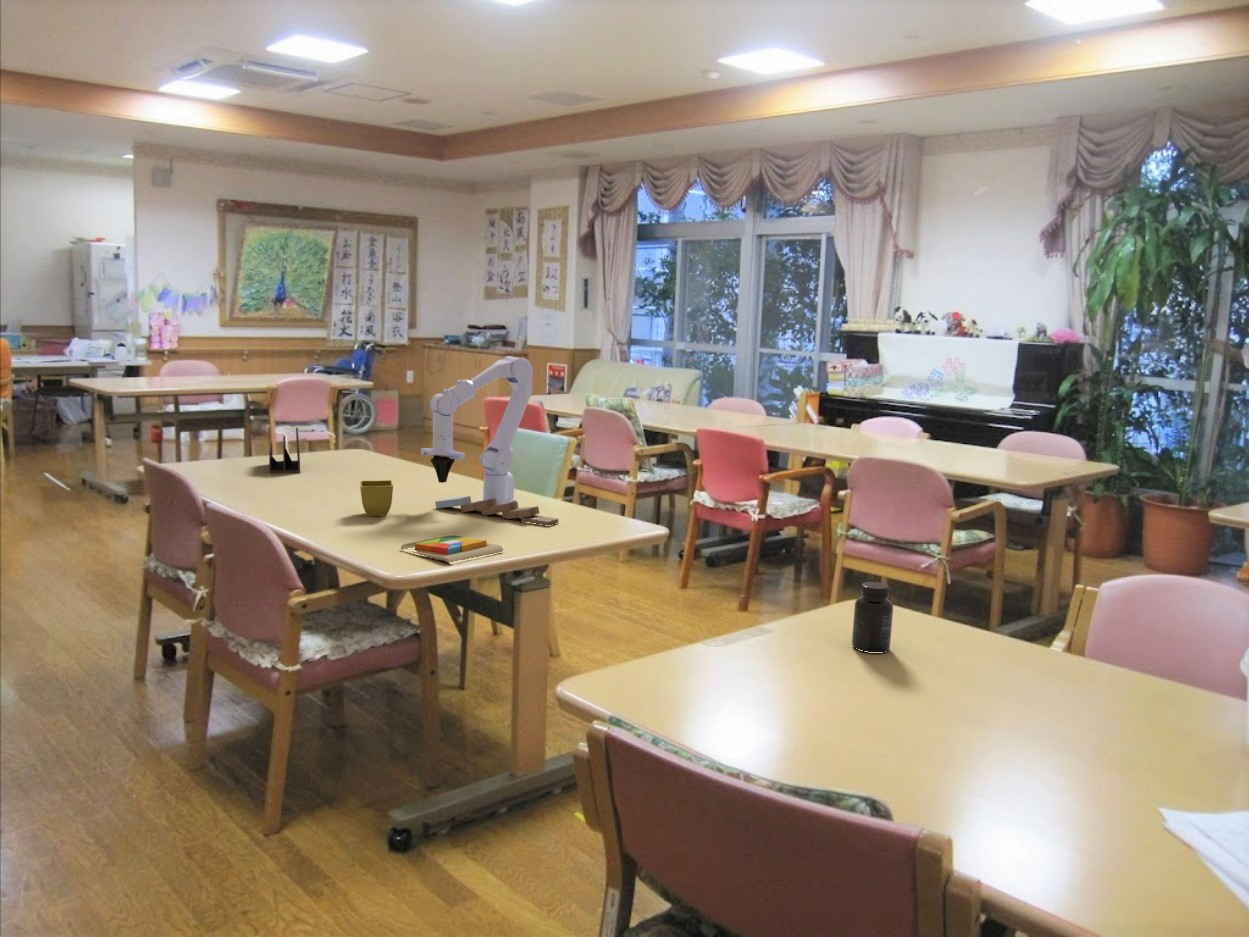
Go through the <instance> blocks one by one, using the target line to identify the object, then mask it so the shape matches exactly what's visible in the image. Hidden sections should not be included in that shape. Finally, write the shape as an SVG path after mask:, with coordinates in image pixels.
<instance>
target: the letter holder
mask: <svg viewBox="0 0 1249 937" xmlns="http://www.w3.org/2000/svg"><path fill="white" fill-rule="evenodd" d="M295 436H296V437H295V438H296V453H297V454H296V456H297V459H296V460H292V458H291V457H290V455H289V452H288V450H287V448H286V447H287V446H286V443H287V442H286V435H283V437H282V451H283V453H282V454H283V455H282V456H283V457H282V458H283V460H276V459H275V458H274V456H273V442H270V443H269V454H268V455H269V456H268V458H269V459H268V460H269V462H268V474H269V473H293V474H301V459H300V456H301V454H300V453H301V452H300V438H299V437H300V436H299V427H298V426H296V427H295Z"/></svg>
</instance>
